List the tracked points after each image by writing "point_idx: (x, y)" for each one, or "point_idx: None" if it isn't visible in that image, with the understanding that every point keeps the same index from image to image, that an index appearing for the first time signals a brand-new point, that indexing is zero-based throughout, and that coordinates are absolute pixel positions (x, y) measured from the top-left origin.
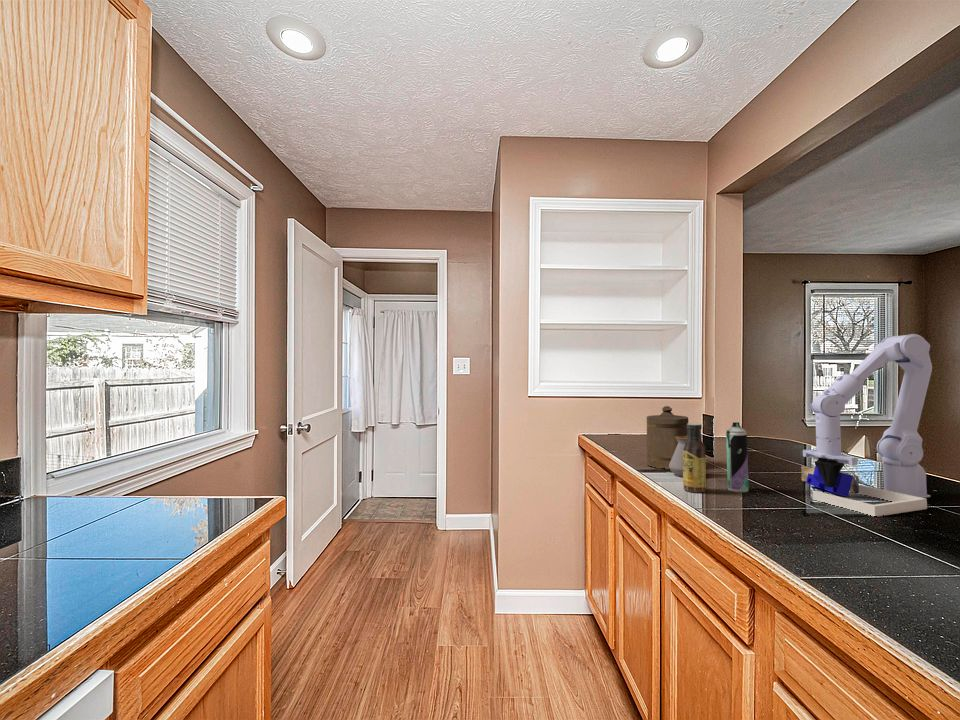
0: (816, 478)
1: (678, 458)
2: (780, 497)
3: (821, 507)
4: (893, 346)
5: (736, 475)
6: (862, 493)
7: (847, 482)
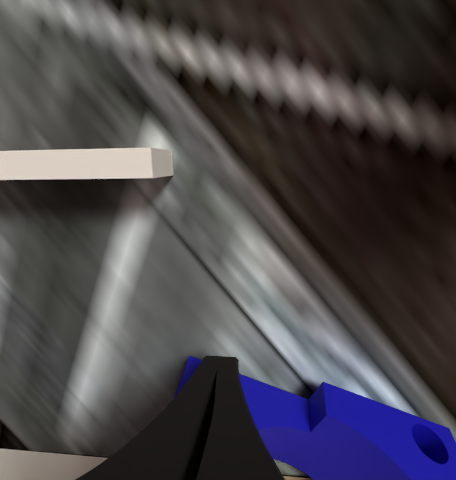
0: (384, 464)
1: None
2: (319, 3)
3: (33, 53)
4: None
5: None
6: None
7: None
